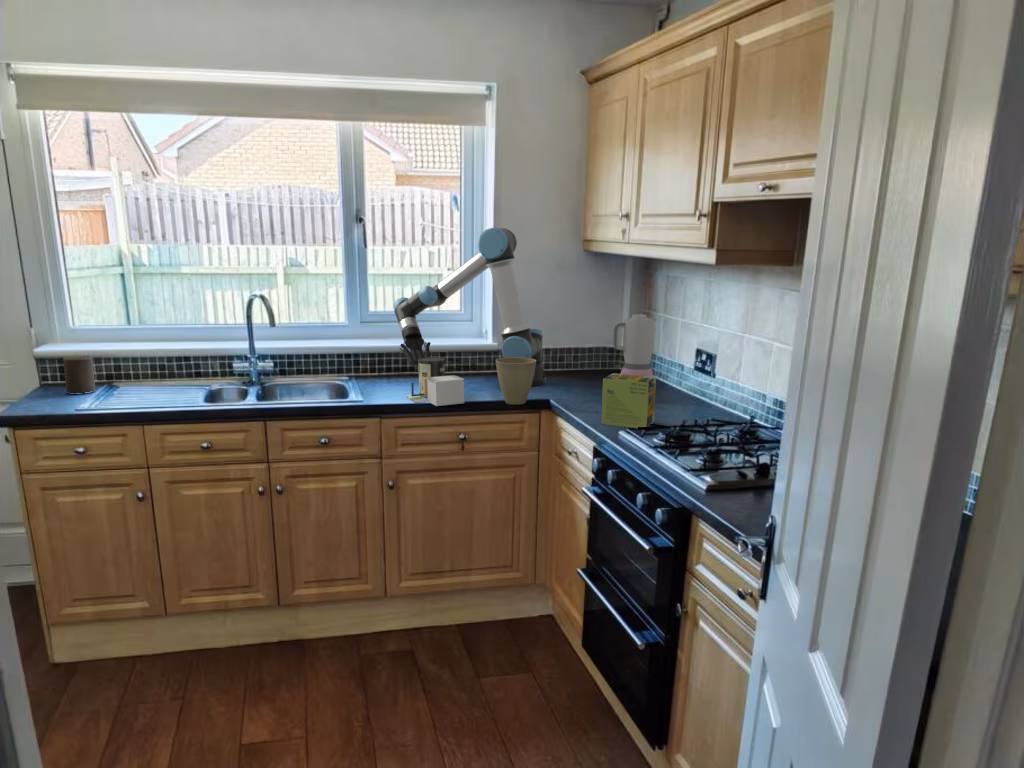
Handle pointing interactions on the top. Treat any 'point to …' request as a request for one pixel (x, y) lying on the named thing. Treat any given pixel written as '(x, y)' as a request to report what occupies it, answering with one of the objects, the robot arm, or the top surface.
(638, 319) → the blender
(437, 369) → the coffee can
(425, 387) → the gauge plunger
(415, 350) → the robot arm
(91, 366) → the pillar candle
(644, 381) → the protein box
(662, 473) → the top surface
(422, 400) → the gauge frame
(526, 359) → the plant pot
